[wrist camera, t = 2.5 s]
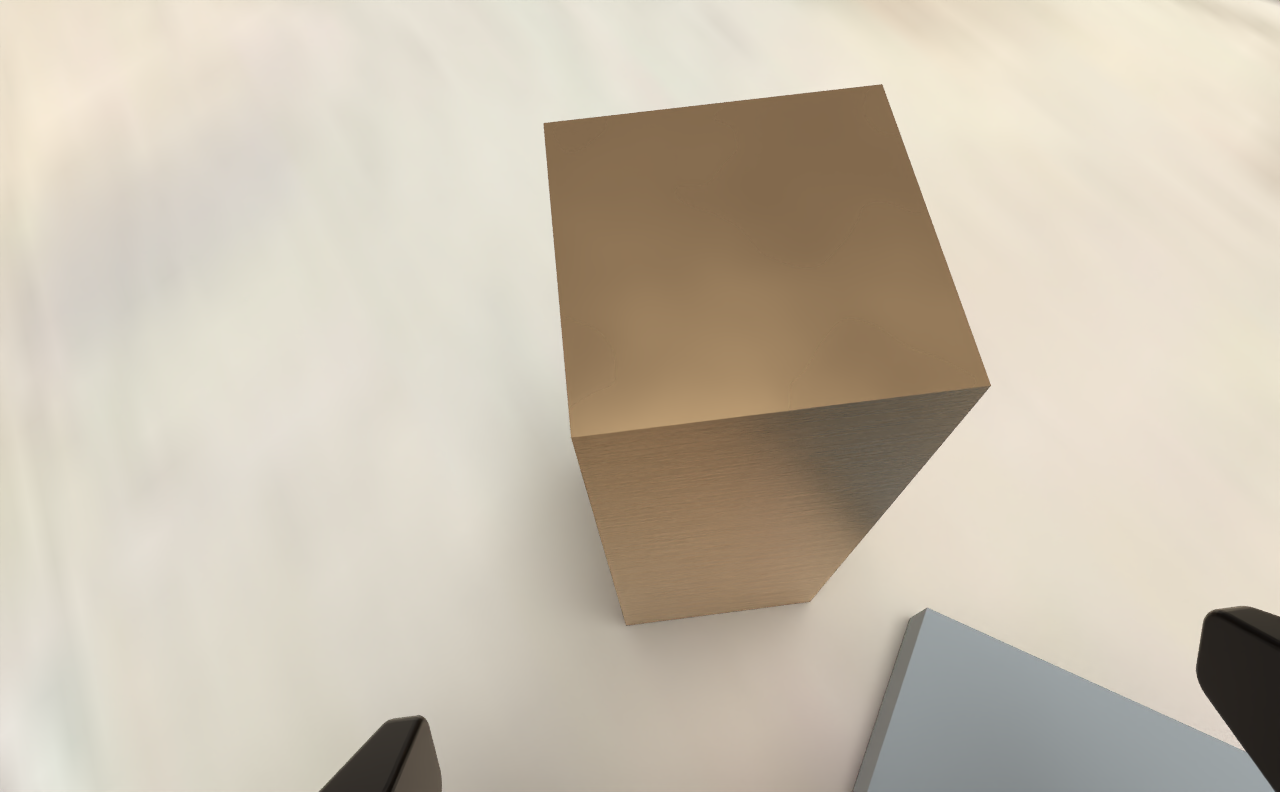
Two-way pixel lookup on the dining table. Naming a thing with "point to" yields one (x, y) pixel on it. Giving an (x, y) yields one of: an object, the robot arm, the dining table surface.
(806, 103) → the gold metal block
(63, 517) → the dining table surface
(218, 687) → the dining table surface
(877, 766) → the mat
